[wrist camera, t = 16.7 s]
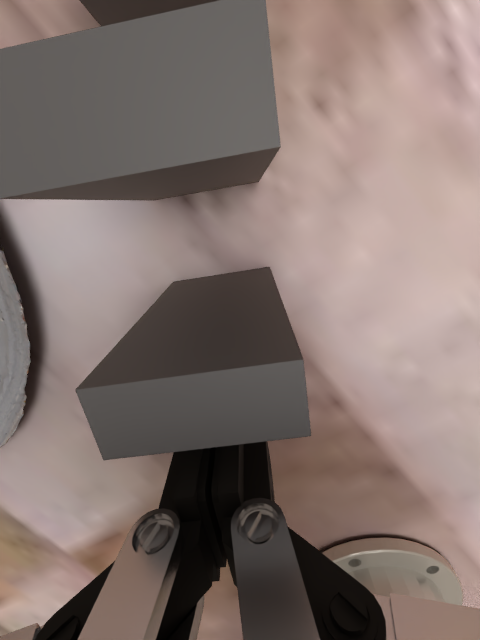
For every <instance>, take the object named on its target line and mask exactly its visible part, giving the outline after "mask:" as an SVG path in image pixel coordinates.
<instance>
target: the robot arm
mask: <svg viewBox="0 0 480 640" xmlns="http://www.w3.org/2000/svg"><path fill="white" fill-rule="evenodd" d="M227 560H228V564H229V567H230V571H231V575H232V578H233V582H234V584H235V585H236V587H237V588H238V597H239V606H240V614H241V623H242V632H243V640H480V609H478V608H472V607H467V606H461V605H462V602H463V589H462V586H461V583H460V581H459V579H458V577H457V575H456V574H455V572H454V570H453V568H452V567H451V565H450V564H449V563H448V562H447V560H446V559H445V558H444V557H443V556H442V555H440V554H439V553H437V552H436V551H434V550H433V549H431V548H429V547H426V546H424V545H422V544H419V543H417V542H412V541H408V540H404V539H397V538H386V537H382V538H366V539H360V540H354V541H350V542H346V543H343V544H340V545H337V546H334V547H332V548H330V549H328V550H326V551H324V552H322V553H321V552H320V551H319V550H317V549H316V548H315V547H313V546H312V545H311V544H309V543H308V542H307V541H306V540H304V539H303V538H302V537H300V536H299V535H298V534H297V533H295V532H294V531H293V530H291V529H290V528H289V527H288V526H287V524H286V520H285V517H284V514H283V512H282V510H281V508H280V507H279V506H278V505H277V504H276V503H275V500H274V490H273V480H272V471H271V463H270V455H269V449H268V443H267V441H264V442H256V443H247V444H239V445H230V446H221V447H213V448H204V449H196V450H187V451H179V452H174V454H173V457H172V461H171V465H170V468H169V472H168V476H167V479H166V483H165V487H164V490H163V494H162V498H161V501H160V505H159V509H155V510H153V511H150V512H148V513H146V514H145V515H143V516H142V517H141V518H140V519H139V520H138V521H137V522H136V523H135V524H134V525H133V527H132V528H131V530H130V531H129V533H128V535H127V538H126V540H125V542H124V544H123V546H122V548H121V550H120V552H119V554H118V556H117V558H116V560H115V561H114V562H113V563H112V564H111V565H110V566H109V567H108V568H106V569H105V570H104V571H103V572H102V573H101V574H100V575H98V576H97V577H96V578H95V579H94V580H93V581H92V582H90V583H89V584H88V585H87V586H86V587H85V588H84V589H82V590H81V591H80V592H79V593H78V594H77V595H76V596H74V597H73V598H72V599H71V600H70V601H69V602H68V603H66V604H65V605H64V606H63V607H62V608H61V609H60V610H58V611H57V612H56V613H55V614H54V615H53V616H52V617H51V618H50V619H49V620H48V621H47V622H46V623H45V625H44V626H41V627H40V626H39V625H38V623H36V624H33V625H30V626H27V627H25V628H22V629H19V630H16V631H14V632H11V633H8V634H5V635H3V636H0V640H196V639H197V635H198V630H199V625H200V621H201V616H202V612H203V607H204V594H205V593H206V592H207V591H208V590H209V588H210V587H211V586H212V581H219V579H220V567H226V561H227Z"/></svg>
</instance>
